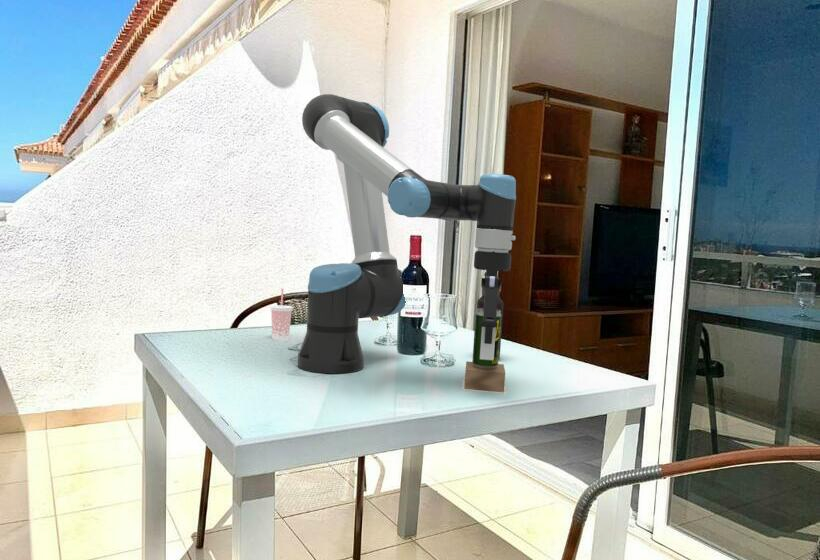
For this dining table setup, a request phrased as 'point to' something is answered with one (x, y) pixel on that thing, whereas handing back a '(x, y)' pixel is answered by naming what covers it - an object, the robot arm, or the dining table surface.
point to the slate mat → (481, 390)
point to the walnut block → (484, 378)
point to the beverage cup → (281, 320)
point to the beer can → (477, 342)
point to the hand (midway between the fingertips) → (486, 352)
